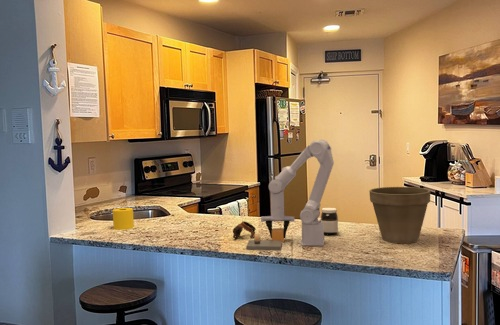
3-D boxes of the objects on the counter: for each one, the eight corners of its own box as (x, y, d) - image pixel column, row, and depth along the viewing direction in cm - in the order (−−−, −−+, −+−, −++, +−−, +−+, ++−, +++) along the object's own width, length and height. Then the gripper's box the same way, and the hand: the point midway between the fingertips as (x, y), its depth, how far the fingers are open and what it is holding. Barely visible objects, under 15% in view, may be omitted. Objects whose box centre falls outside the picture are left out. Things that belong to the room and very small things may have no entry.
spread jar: (337, 236, 205) (337, 211, 204) (312, 236, 207) (312, 210, 206) (338, 230, 216) (337, 206, 215) (314, 230, 219) (313, 206, 218)
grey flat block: (282, 243, 194) (281, 232, 194) (280, 250, 184) (280, 238, 184) (249, 243, 196) (249, 232, 196) (246, 249, 186) (246, 237, 186)
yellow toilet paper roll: (136, 225, 239) (135, 207, 238) (129, 229, 229) (128, 211, 228) (118, 225, 240) (117, 207, 239) (110, 229, 230) (109, 211, 229)
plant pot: (358, 236, 204) (357, 188, 202) (403, 230, 213) (403, 184, 211) (394, 250, 181) (394, 195, 179) (443, 243, 189) (443, 191, 188)
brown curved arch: (238, 235, 214) (246, 220, 213) (252, 246, 209) (261, 231, 208) (223, 233, 204) (232, 218, 203) (238, 245, 199) (247, 229, 198)
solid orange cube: (284, 239, 202) (283, 228, 201) (283, 242, 197) (283, 230, 196) (272, 239, 202) (272, 228, 202) (271, 242, 197) (271, 230, 197)
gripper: (294, 205, 201) (295, 235, 202) (261, 205, 203) (262, 235, 204) (294, 208, 194) (294, 239, 195) (260, 208, 196) (260, 239, 197)
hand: (278, 237), depth 199 cm, fingers closed on solid orange cube, 5 cm apart
